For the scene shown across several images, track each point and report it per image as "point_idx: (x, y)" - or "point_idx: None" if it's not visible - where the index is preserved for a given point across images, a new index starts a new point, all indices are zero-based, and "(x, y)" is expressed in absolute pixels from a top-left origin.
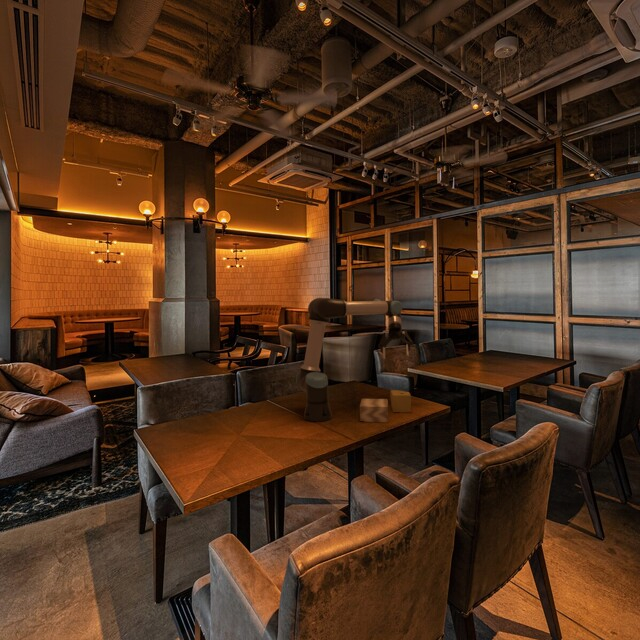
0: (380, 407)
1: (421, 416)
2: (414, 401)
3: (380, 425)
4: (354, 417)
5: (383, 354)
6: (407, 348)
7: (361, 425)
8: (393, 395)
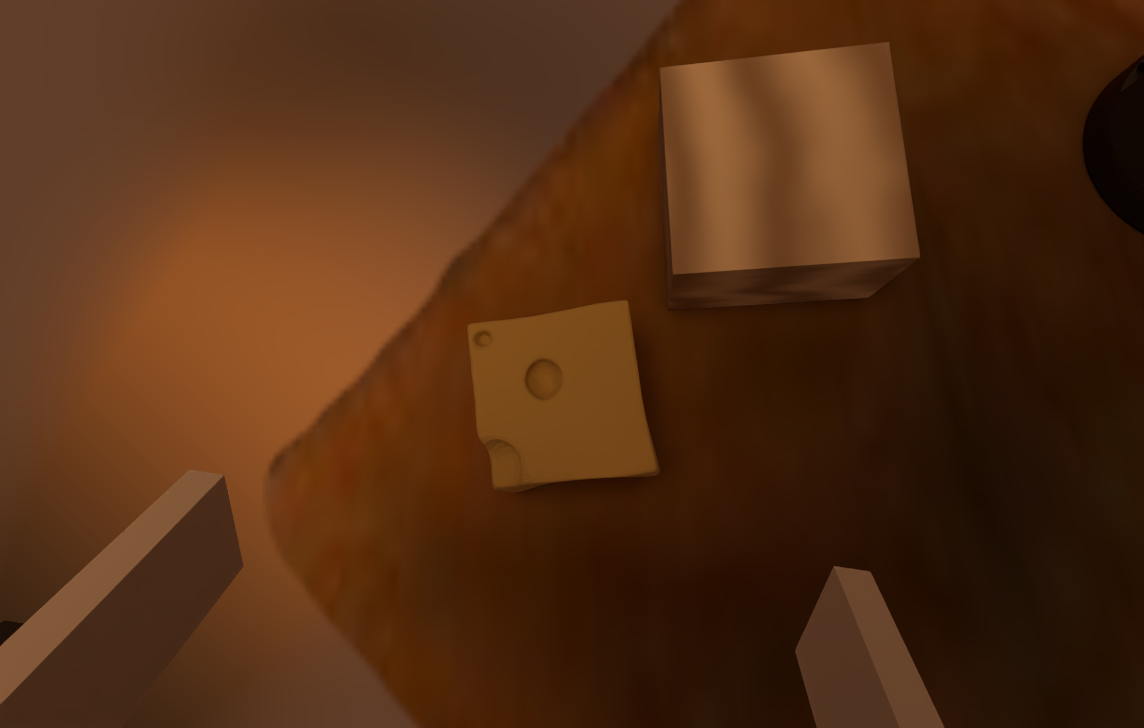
0: (714, 65)
1: (442, 283)
2: (463, 659)
3: None
4: None
5: (884, 639)
6: (36, 625)
7: None
8: (621, 300)
